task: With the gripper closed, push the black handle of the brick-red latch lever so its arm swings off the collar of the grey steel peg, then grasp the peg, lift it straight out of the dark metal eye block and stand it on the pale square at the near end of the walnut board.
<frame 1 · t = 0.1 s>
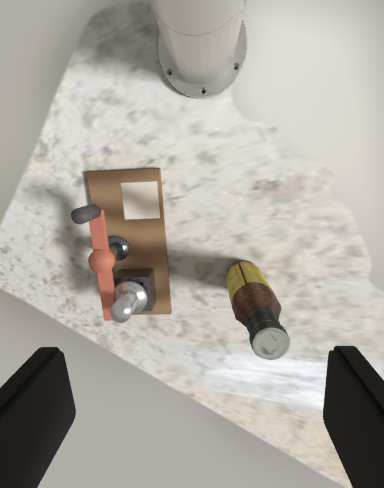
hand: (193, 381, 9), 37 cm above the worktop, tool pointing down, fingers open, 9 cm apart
eye block: (139, 282, 49), resting on board
lever: (97, 269, 38), point 10 cm above the worktop, hinge at 0.0°
pivot post: (119, 246, 47), resting on board
peg: (138, 284, 48), point 1 cm above the worktop, touching board
sauce bottle: (243, 274, 47), on the worktop
board: (132, 246, 47), on the worktop
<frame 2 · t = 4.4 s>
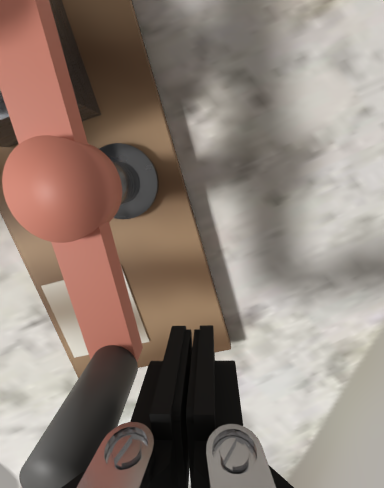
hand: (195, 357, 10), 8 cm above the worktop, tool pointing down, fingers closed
eye block: (42, 80, 16), resting on board
lever: (23, 169, 8), point 9 cm above the worktop, hinge at -5.7°, touching gripper
pivot post: (127, 181, 17), resting on board
board: (92, 192, 17), on the worktop
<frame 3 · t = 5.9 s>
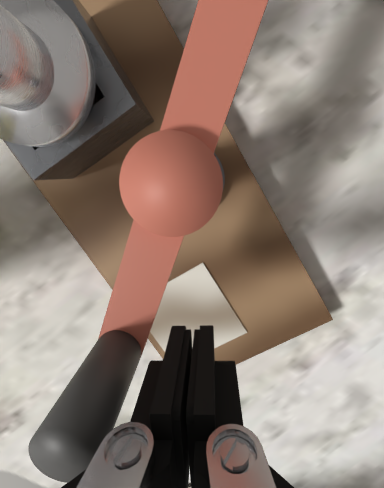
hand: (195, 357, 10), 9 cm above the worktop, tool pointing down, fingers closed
eye block: (89, 107, 16), resting on board
lever: (172, 163, 8), point 10 cm above the worktop, hinge at -51.5°, touching gripper
peg: (82, 103, 16), point 1 cm above the worktop, touching board
board: (157, 200, 18), on the worktop
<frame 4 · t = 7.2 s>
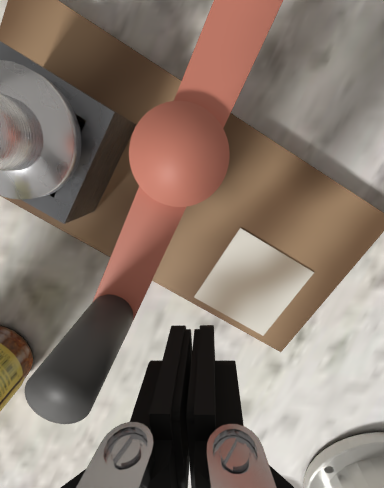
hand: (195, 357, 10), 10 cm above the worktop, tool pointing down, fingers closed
eye block: (78, 145, 18), resting on board
lever: (185, 132, 8), point 9 cm above the worktop, hinge at -84.7°
peg: (70, 144, 17), point 1 cm above the worktop, touching board
sauce bottle: (4, 351, 23), on the worktop
board: (173, 193, 18), on the worktop
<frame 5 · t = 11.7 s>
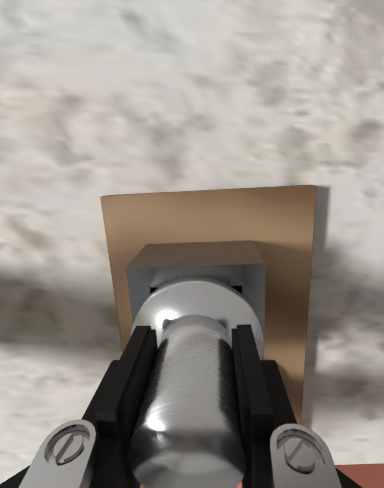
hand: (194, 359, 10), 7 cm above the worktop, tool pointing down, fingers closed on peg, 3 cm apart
eye block: (201, 284, 17), resting on board
peg: (200, 290, 16), point 1 cm above the worktop, touching board, gripper
board: (212, 373, 19), on the worktop
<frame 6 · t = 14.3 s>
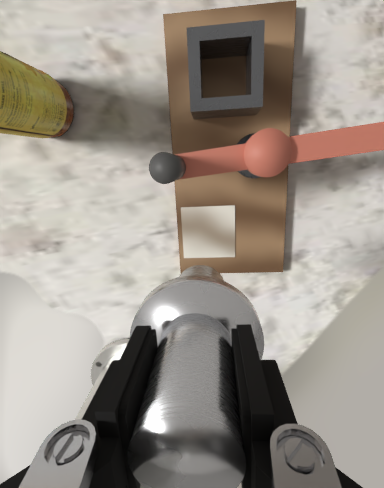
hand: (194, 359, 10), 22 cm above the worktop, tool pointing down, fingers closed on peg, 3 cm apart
eye block: (223, 85, 27), resting on board
lever: (281, 151, 19), point 10 cm above the worktop, hinge at -84.7°
pivot post: (252, 156, 28), resting on board
peg: (200, 287, 16), point 16 cm above the worktop, touching gripper
sauce bottle: (48, 110, 29), on the worktop
board: (229, 157, 29), on the worktop
when the fingers open (8 cm above the worktop, at t = 17.2 s): peg stays where it is, resting on board.
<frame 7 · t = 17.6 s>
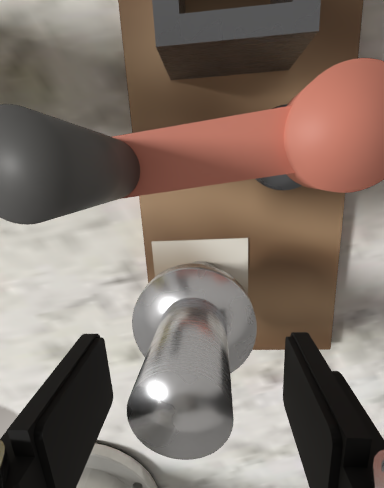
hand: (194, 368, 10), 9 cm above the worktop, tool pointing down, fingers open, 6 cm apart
eye block: (226, 16, 14), resting on board
pivot post: (279, 150, 16), resting on board
peg: (200, 283, 17), point 1 cm above the worktop, touching board
board: (237, 153, 16), on the worktop
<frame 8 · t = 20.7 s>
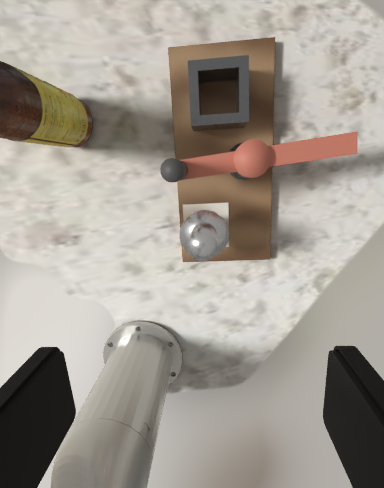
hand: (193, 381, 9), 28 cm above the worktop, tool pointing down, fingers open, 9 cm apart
eye block: (217, 103, 32), resting on board
lever: (262, 157, 25), point 9 cm above the worktop, hinge at -84.7°
pivot post: (242, 161, 34), resting on board
peg: (205, 225, 35), point 1 cm above the worktop, touching board
sauce bottle: (71, 123, 34), on the worktop
board: (223, 162, 34), on the worktop
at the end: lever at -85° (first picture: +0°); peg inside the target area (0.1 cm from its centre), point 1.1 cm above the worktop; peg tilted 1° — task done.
